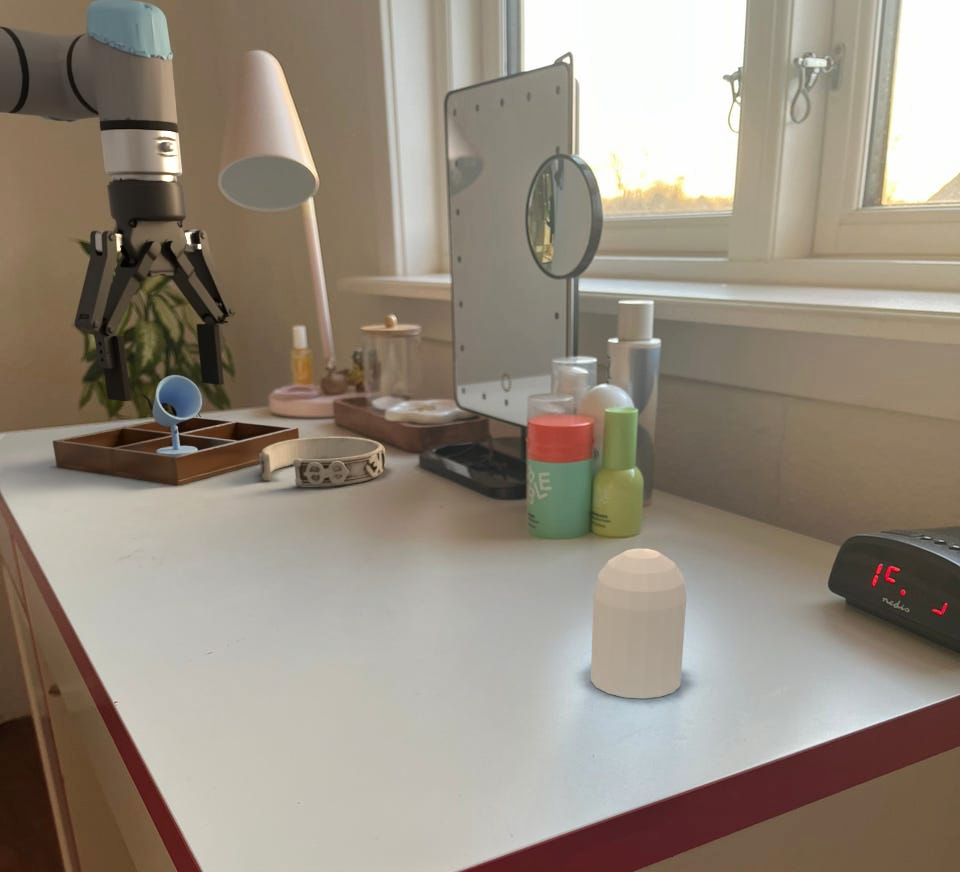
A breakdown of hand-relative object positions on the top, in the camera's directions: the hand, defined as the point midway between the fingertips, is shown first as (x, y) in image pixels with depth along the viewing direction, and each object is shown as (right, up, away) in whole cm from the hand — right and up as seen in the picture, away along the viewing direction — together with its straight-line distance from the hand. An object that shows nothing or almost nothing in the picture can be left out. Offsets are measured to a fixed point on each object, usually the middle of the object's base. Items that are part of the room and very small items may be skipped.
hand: (168, 391), depth 112 cm
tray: (-1, -6, +9) cm, 11 cm away
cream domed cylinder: (+44, -30, -52) cm, 74 cm away
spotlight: (0, -8, +3) cm, 8 cm away
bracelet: (+17, -9, +1) cm, 19 cm away
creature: (-8, +2, +30) cm, 31 cm away
